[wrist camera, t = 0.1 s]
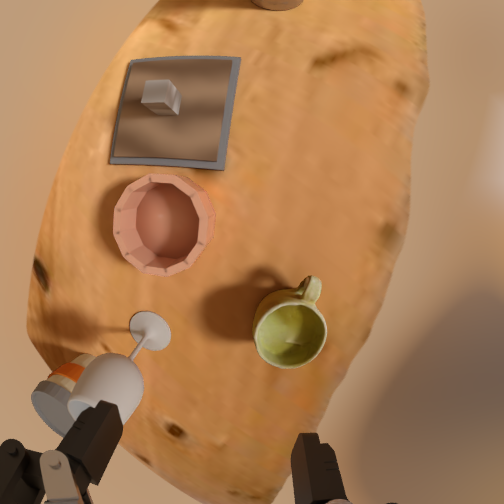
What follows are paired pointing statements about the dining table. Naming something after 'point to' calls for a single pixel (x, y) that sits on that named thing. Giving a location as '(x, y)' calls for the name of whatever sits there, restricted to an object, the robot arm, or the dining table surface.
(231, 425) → the dining table surface
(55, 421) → the reusable coffee cup
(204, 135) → the lid
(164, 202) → the bowl
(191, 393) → the dining table surface
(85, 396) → the wineglass
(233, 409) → the dining table surface
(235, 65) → the mat
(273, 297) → the mug
